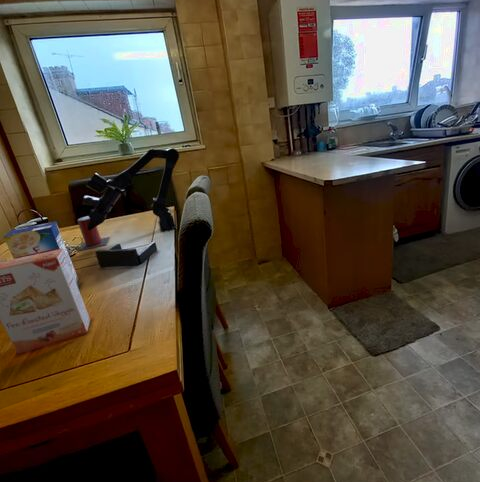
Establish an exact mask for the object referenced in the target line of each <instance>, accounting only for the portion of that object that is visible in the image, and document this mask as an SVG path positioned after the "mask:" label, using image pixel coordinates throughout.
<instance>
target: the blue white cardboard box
mask: <svg viewBox="0 0 480 482" xmlns="http://www.w3.org/2000/svg"><path fill="white" fill-rule="evenodd" d="M3 239H4V241H5V243H6V246H7V248H8V250H9V252H10V254H11V256H12V259H16V258H21V257H26V256H31V255H35V254H40V253H45V252H49V251H54V250H59V249H63V251H64V254H65V256H66V259H67V261H68V264H69V266H70V269H71V271H72V274H73V276H74V279H75V281H76V284H77V286H78V287H79V285H80V280H79V277H78V274H77V271H76V269H75V267H74V264H73V261H72V258H71V256H70V253H69V250H68V249H67V246H66V244H65V241H64V239H63V236H62V234H61V231H60V228H59V226H58V223H57V220H56V221H50V222H46V223H45V222H44V223H40V224H36V225H29V226H25V227H20V228H16V229H11V230H10V231H9V232H7V233H6V234H5V235H4V236H3Z"/></svg>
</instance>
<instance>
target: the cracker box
mask: <svg viewBox="0 0 480 482" xmlns="http://www.w3.org/2000/svg"><path fill="white" fill-rule="evenodd" d="M80 292H81V291H80V289H79V285H78V286H77V284H76V281H75V279H74V276H73V274H72V271H71V269H70V266H69V264H68V261H67V259H66V256H65V254H64V251H63V249H59V250H54V251H49V252H45V253H40V254H35V255H31V256H26V257H21V258H16V259H14V258H11V259H8V260H3V261H0V322H1V324H2V326H3V328H4V330H5V332H6V334H7V335H8V337H9V339H10V341H11V343H12V345H13V347H14V348H15V351H16V352H17V354H18V355H21V354H24V353H27V352H30V351H34V350H36V349H40V348H43V347H46V346H50V345H53V344H55V343H59V342H63V341H65V340H69V339H71V338H75V337H78V336H82V335H85V334H87V333H88V331H89V327H90V323H91V318H90V315H89V312H88V309H87V307H86V304H85V302H84V300H83V297H82V295H81V293H80Z"/></svg>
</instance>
